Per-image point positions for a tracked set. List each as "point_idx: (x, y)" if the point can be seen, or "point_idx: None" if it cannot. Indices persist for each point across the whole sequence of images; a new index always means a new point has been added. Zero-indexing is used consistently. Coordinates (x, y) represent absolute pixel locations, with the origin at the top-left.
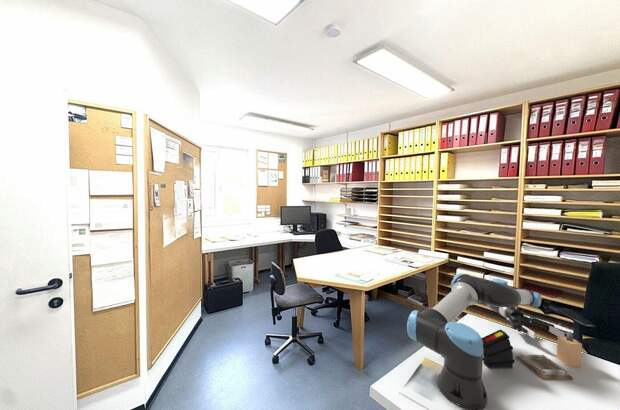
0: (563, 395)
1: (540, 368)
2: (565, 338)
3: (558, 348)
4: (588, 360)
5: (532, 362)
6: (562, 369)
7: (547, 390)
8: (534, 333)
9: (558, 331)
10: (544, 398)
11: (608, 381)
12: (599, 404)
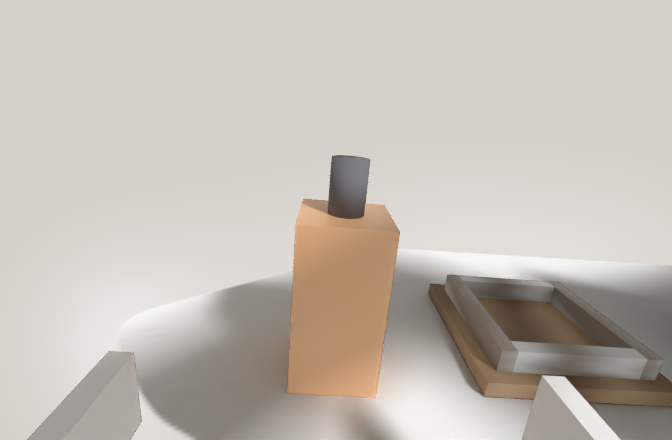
0: (508, 267)
1: (561, 290)
2: (356, 221)
3: (384, 317)
4: (150, 373)
5: (592, 312)
6: (461, 281)
7: (551, 277)
8: (556, 380)
9: (88, 415)
10: (569, 266)
11: (282, 282)
12: (425, 250)
